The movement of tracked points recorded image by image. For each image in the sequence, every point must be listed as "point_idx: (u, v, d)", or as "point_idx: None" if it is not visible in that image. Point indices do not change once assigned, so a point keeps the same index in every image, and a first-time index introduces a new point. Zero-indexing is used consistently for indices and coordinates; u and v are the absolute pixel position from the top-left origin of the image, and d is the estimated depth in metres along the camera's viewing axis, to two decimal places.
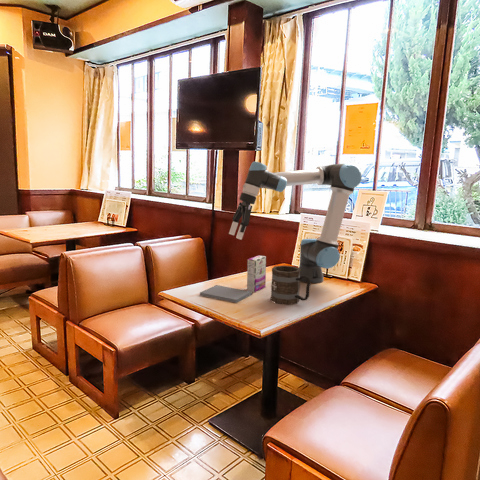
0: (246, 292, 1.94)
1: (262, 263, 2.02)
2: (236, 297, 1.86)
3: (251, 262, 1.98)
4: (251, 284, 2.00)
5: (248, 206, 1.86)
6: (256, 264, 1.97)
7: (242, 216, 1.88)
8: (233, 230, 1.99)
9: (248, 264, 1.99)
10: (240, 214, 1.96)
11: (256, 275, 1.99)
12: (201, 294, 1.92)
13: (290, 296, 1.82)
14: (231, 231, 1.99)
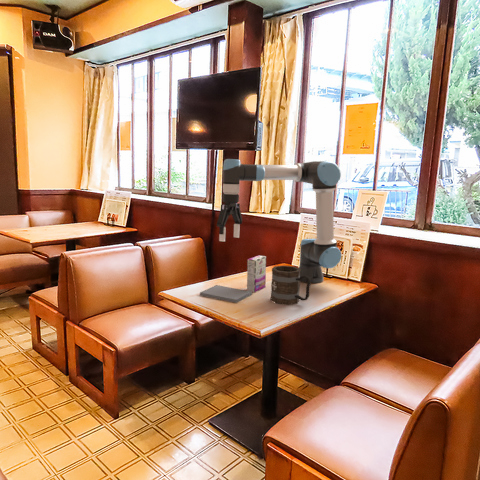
0: (246, 292, 1.94)
1: (262, 263, 2.02)
2: (236, 297, 1.86)
3: (251, 262, 1.98)
4: (251, 284, 2.00)
5: (222, 206, 1.80)
6: (256, 264, 1.97)
7: None
8: (236, 232, 1.94)
9: (248, 264, 1.99)
10: (234, 215, 1.90)
11: (256, 275, 1.99)
12: (201, 294, 1.92)
13: (290, 296, 1.82)
14: (235, 234, 1.94)
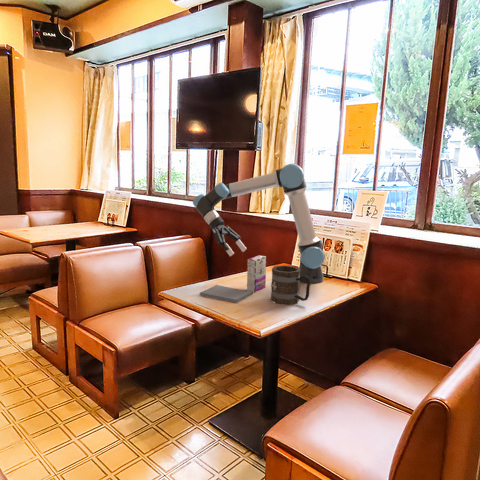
0: (246, 292, 1.94)
1: (262, 263, 2.02)
2: (236, 297, 1.86)
3: (251, 262, 1.98)
4: (251, 284, 2.00)
5: (213, 231, 2.04)
6: (256, 264, 1.97)
7: None
8: (242, 246, 2.13)
9: (248, 264, 1.99)
10: (230, 234, 2.12)
11: (256, 275, 1.99)
12: (201, 294, 1.92)
13: (290, 296, 1.82)
14: (242, 248, 2.13)
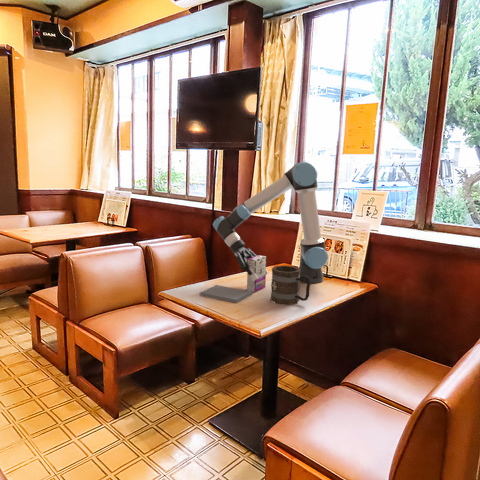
0: (246, 292, 1.94)
1: (262, 262, 2.02)
2: (236, 297, 1.86)
3: (251, 261, 1.98)
4: (251, 284, 2.00)
5: (235, 255, 2.00)
6: (256, 264, 1.97)
7: None
8: None
9: (248, 264, 1.99)
10: (251, 257, 2.08)
11: None
12: (201, 294, 1.92)
13: (290, 296, 1.82)
14: None
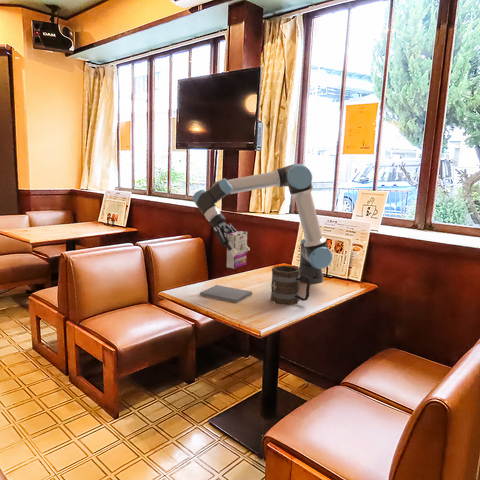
0: (246, 292, 1.94)
1: (242, 238, 1.92)
2: (236, 297, 1.86)
3: (231, 236, 1.88)
4: (230, 260, 1.90)
5: (214, 229, 1.90)
6: (236, 239, 1.88)
7: None
8: None
9: (228, 239, 1.89)
10: None
11: None
12: (201, 294, 1.92)
13: (290, 296, 1.82)
14: None
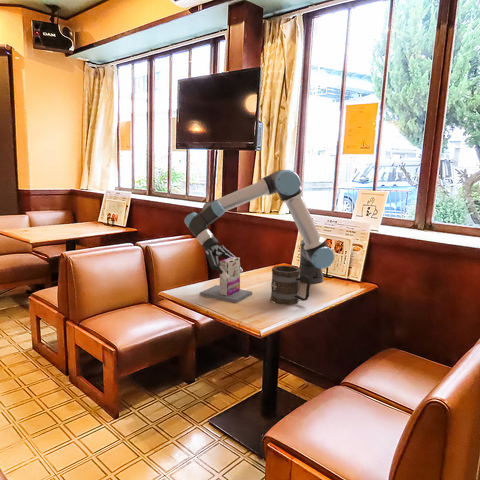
0: (246, 292, 1.94)
1: (235, 264, 1.90)
2: (236, 297, 1.86)
3: (223, 263, 1.86)
4: (223, 288, 1.88)
5: (206, 252, 1.88)
6: (228, 266, 1.86)
7: None
8: None
9: None
10: (225, 255, 1.96)
11: (229, 278, 1.87)
12: (201, 294, 1.92)
13: (290, 296, 1.82)
14: None
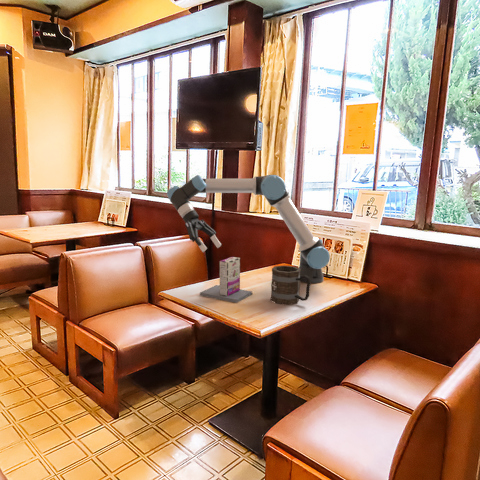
0: (246, 292, 1.94)
1: (235, 264, 1.90)
2: (236, 297, 1.86)
3: (223, 263, 1.86)
4: (223, 288, 1.88)
5: (186, 225, 1.94)
6: (228, 266, 1.86)
7: None
8: (216, 242, 2.03)
9: (220, 266, 1.87)
10: (204, 229, 2.02)
11: (229, 278, 1.87)
12: (201, 294, 1.92)
13: (290, 296, 1.82)
14: (216, 244, 2.03)
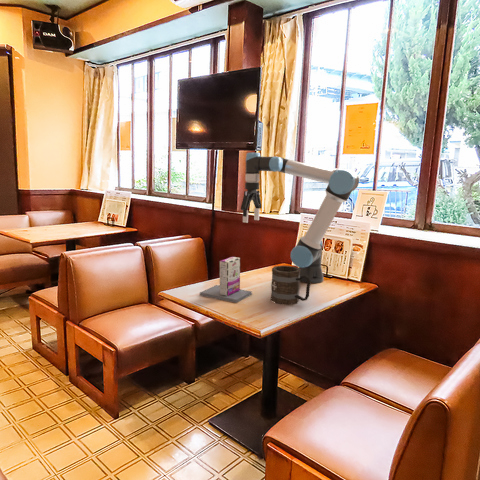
0: (246, 292, 1.94)
1: (235, 264, 1.90)
2: (236, 297, 1.86)
3: (223, 263, 1.86)
4: (223, 288, 1.88)
5: (245, 193, 2.13)
6: (228, 266, 1.86)
7: None
8: (256, 216, 2.26)
9: (220, 266, 1.87)
10: (255, 200, 2.22)
11: (229, 278, 1.87)
12: (201, 294, 1.92)
13: (290, 296, 1.82)
14: (255, 217, 2.27)
